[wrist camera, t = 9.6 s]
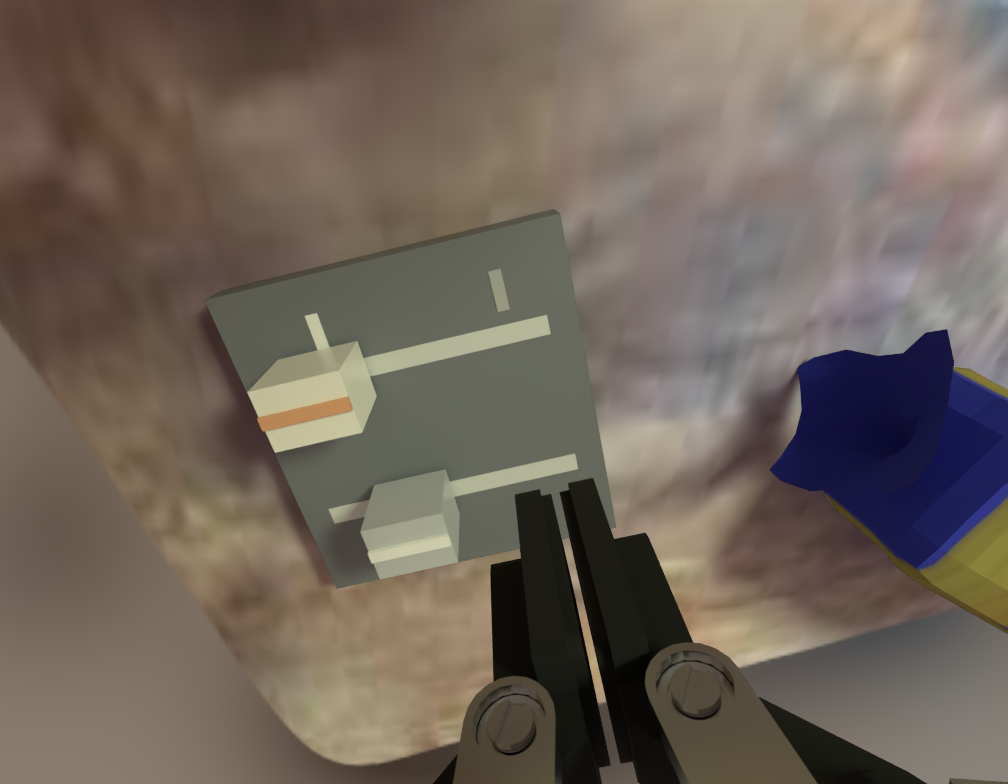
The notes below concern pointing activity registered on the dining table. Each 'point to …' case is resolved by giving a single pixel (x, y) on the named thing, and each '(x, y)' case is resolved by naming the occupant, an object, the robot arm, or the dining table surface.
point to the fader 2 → (412, 525)
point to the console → (435, 380)
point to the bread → (912, 464)
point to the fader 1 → (314, 397)
